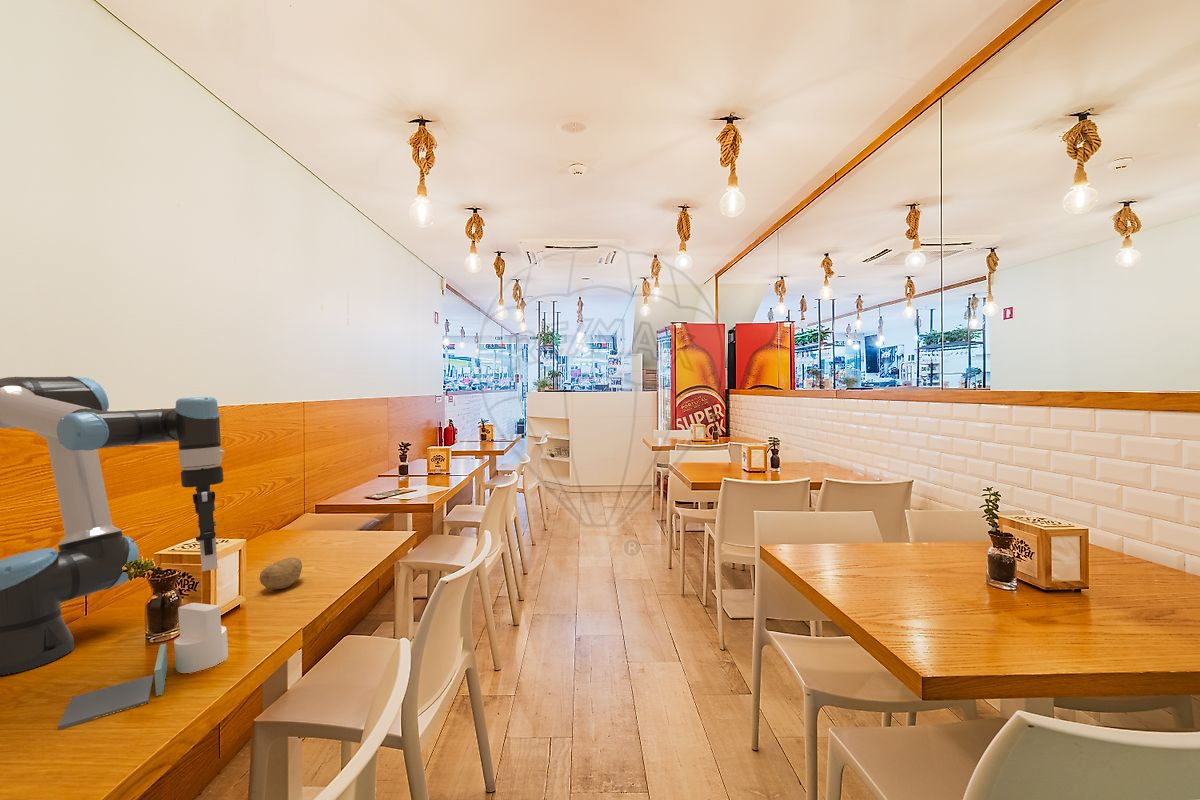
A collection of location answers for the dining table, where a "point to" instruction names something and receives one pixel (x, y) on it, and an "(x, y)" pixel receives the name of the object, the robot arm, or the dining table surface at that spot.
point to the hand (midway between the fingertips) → (208, 562)
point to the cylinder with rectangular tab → (200, 638)
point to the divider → (161, 669)
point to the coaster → (106, 701)
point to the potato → (281, 573)
